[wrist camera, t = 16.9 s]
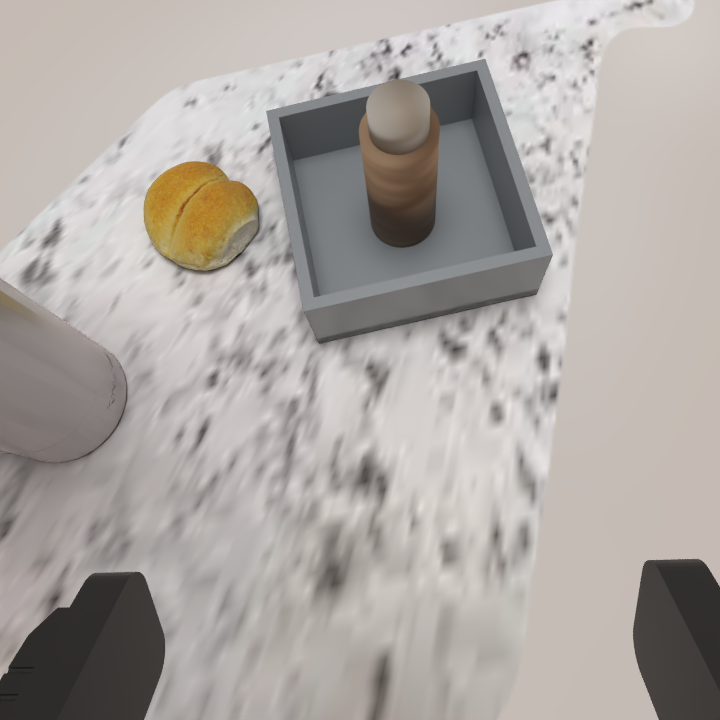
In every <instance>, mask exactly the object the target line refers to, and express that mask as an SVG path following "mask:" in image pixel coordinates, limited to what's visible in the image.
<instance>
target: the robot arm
mask: <svg viewBox="0 0 720 720" xmlns="http://www.w3.org/2000/svg"><path fill="white" fill-rule="evenodd" d="M126 387H127V386H126V381H125V375H124V372H123V370H122V368H121V366H120V363H119V362H118V361H117V360H116V358H115V357H114V356H113V355H112V354H111V353H110V352H109V351H107V350H106V349H105V348H103V347H102V346H100V345H99V344H97V343H96V342H94V341H93V340H91V339H90V338H89V337H87V336H86V335H84V334H83V333H81V332H80V331H78V330H77V329H75V328H74V327H73V326H71V325H70V324H68V323H67V322H65V321H64V320H62V319H61V318H59V317H58V316H56V315H55V314H53V313H52V312H50V311H49V310H47V309H46V308H44V307H43V306H41V305H40V304H38V303H37V302H35V301H34V300H32V299H31V298H29V297H28V296H26V295H25V294H23V293H22V292H20V291H19V290H17V289H16V288H14V287H13V286H11V285H10V284H8V283H7V282H5V281H4V280H2V279H1V278H0V452H4V453H8V454H11V453H13V454H17V455H21V456H25V457H29V458H33V459H37V460H41V461H45V462H66V461H70V460H75V459H77V458H79V457H82V456H84V455H86V454H88V453H90V452H91V451H93V450H94V449H96V448H97V447H98V446H100V445H101V444H102V443H103V442H104V441H105V440H106V439H107V438H108V437H109V436H110V434H111V433H112V431H113V430H114V428H115V427H116V426H117V424H118V422H119V420H120V417H121V415H122V413H123V410H124V406H125V402H126ZM633 640H634V648H635V654H636V659H637V663H638V666H639V670H640V672H641V675H642V678H643V680H644V683H645V685H646V688H647V690H648V693H649V695H650V698H651V700H652V703H653V706H654V708H655V711H656V713H657V716H658V718H659V720H720V587H719V585H718V583H717V582H716V580H715V578H714V577H713V575H712V573H711V572H710V570H709V568H708V567H707V566H706V564H705V563H704V562H703V561H701V560H699V559H682V560H681V559H678V560H648V561H646V562H645V563H644V566H643V570H642V576H641V582H640V589H639V595H638V602H637V608H636V614H635V620H634V628H633ZM164 658H165V638H164V633H163V630H162V627H161V624H160V621H159V618H158V615H157V612H156V609H155V606H154V603H153V600H152V597H151V594H150V591H149V588H148V585H147V582H146V579H145V577H144V576H143V574H142V573H140V572H116V573H94V574H92V575H90V576H89V577H88V578H87V579H86V581H85V582H84V584H83V586H82V587H81V589H80V591H79V592H78V594H77V596H76V598H75V599H74V601H73V603H72V604H71V606H70V607H68V608H57V609H56V610H55V611H54V612H53V613H52V614H51V615H49V616H48V617H47V618H46V619H45V620H44V621H43V622H42V623H41V624H40V625H39V626H38V627H37V628H36V629H35V630H33V631H32V632H31V633H30V634H29V635H28V637H27V638H26V640H25V641H24V643H23V645H22V646H21V648H20V649H19V651H18V653H17V654H16V656H15V657H14V659H13V661H12V662H11V664H10V665H9V670H8V673H7V674H4V675H3V676H2V678H1V680H0V720H144V718H145V716H146V713H147V710H148V708H149V705H150V702H151V700H152V697H153V694H154V692H155V689H156V686H157V684H158V681H159V678H160V676H161V673H162V669H163V664H164Z"/></svg>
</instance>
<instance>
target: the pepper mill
mask: <svg viewBox="0 0 720 720" xmlns="http://www.w3.org/2000/svg"><path fill="white" fill-rule="evenodd" d="M366 111H367V112H366V113H365V114H364V116H363V118H362V120H361V122H360V126H359V138H360V146H361V153H362V160H363V168H364V175H365V182H366V190H367V197H368V204H369V212H370V219H371V226H372V229H373V231H374V233H375V235H376V236H377V237H378V238H379V239H380V240H381V241H382V242H384V243H386V244H388V245H390V246H393V247H400V248H403V247H411V246H414V245H417V244H419V243H421V242H422V241H423V240H425V239H426V238H427V237H428V236H429V235H430V233H431V232H432V230H433V228H434V224H435V214H436V195H437V176H438V156H439V137H440V124H439V120H438V117H437V115H436V113H435V112H434V111H433V109H432V108H431V107H430V99H429V96H428V94H427V92H426V91H425V90H424V89H423V88H422V87H421V86H420V85H418V84H416V83H414V82H412V81H408V80H392V81H388V82H385V83H383V84H381V85H380V86H378V87H377V88H376V89H374V90H373V92H372V93H371V94H370V96H369V98H368V100H367V104H366Z"/></svg>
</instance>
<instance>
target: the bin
mask: <svg viewBox="0 0 720 720" xmlns="http://www.w3.org/2000/svg"><path fill="white" fill-rule="evenodd" d="M399 80H408V81H412V82H414V83H416V84H418V85H420V86H421V87H422V88H423V89H424V90H425V91H426V92H427V94H428V96H429V99H430V107H431V108H432V109H433V111H434V112H435V113H436V115H437V117H438V120H439V124H440V137H439V156H438V176H437V195H436V214H435V224H434V228H433V230H432V232H431V233H430V235H429V236H428V237H427V238H426V239H425V240H423V241H422V242H421V243H419V244H417V245H414V246H411V247H403V248H400V247H393V246H390V245H388V244H386V243H384V242H382V241H381V240H380V239H379V238H378V237H377V236H376V235H375V233H374V231H373V229H372V226H371V219H370V212H369V204H368V197H367V190H366V182H365V175H364V168H363V160H362V153H361V146H360V138H359V126H360V122H361V120H362V118H363V116H364V114H365V113H366V112H367V111H366V104H367V100H368V98H369V96H370V94H371V93H372V92H373V90H374V89H376V88H377V87H378V86H380V85H381V84H378V85H374V86H369V87H365V88H361V89H357V90H353V91H348V92H344V93H340V94H336V95H332V96H327V97H323V98H319V99H315V100H311V101H307V102H302V103H298V104H294V105H290V106H286V107H281V108H277V109H273V110H269V111H266V112H267V117H268V123H269V128H270V133H271V139H272V144H273V149H274V155H275V160H276V166H277V171H278V176H279V182H280V187H281V192H282V198H283V203H284V208H285V214H286V219H287V224H288V230H289V235H290V241H291V246H292V251H293V257H294V262H295V267H296V273H297V278H298V283H299V289H300V294H301V299H302V305H303V310H304V313H305V315H306V317H307V319H308V321H309V323H310V325H311V328H312V330H313V332H314V334H315V336H316V338H317V340H318V342H319V343H323V342H328V341H332V340H337V339H341V338H346V337H350V336H354V335H359V334H363V333H368V332H372V331H376V330H381V329H385V328H390V327H394V326H399V325H403V324H407V323H412V322H416V321H421V320H425V319H430V318H434V317H438V316H443V315H447V314H452V313H456V312H460V311H465V310H469V309H474V308H478V307H483V306H487V305H491V304H496V303H500V302H505V301H509V300H514V299H518V298H522V297H527V296H531V295H536V294H537V292H538V289H539V287H540V284H541V282H542V280H543V277H544V275H545V272H546V270H547V267H548V265H549V263H550V260H551V258H552V255H553V254H552V251H551V248H550V245H549V242H548V239H547V236H546V233H545V231H544V228H543V225H542V222H541V219H540V216H539V213H538V210H537V207H536V204H535V202H534V199H533V196H532V193H531V190H530V187H529V184H528V181H527V178H526V176H525V173H524V170H523V167H522V164H521V161H520V158H519V155H518V152H517V150H516V147H515V144H514V141H513V138H512V135H511V132H510V129H509V126H508V123H507V121H506V118H505V115H504V112H503V109H502V106H501V103H500V100H499V97H498V95H497V92H496V89H495V86H494V83H493V80H492V77H491V74H490V71H489V68H488V66H487V63H486V60H485V59H482V60H478V61H474V62H470V63H466V64H461V65H457V66H453V67H449V68H445V69H441V70H436V71H432V72H428V73H424V74H420V75H415V76H411V77H407V78H403V79H399ZM382 84H383V83H382Z"/></svg>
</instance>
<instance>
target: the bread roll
mask: <svg viewBox="0 0 720 720" xmlns="http://www.w3.org/2000/svg"><path fill="white" fill-rule="evenodd" d="M144 223H145V226H146V230H147V232H148V235H149V238H150V240H151V242H152V244H153V245H154V247H155V248H156V249H157V250H158V251H159V253H161V254H162V255H163V256H165V257H167V258H169V259H171V260H172V261H173V262H175V263H176V264H178V265H180V266H182V267H185V268H188V269H193V270H204V271H205V270H211V269H216V268H219V267H222V266H224V265H227V264H228V263H229V262H230V261H231V260H232V259H234V258H235V257H236V256H237V255H238V254H239V253H241V252H242V251H243V250H244V249H245V247H246V246H247V245H248V243H249V242H250V241H251V239H252V238H253V237H254V235H255V233H256V232H257V230H258V226H259V221H258V203H257V199H256V198H255V196H254V195H253V193H252V192H251V190H250V189H249V188H248V187H247V186H246V185H244V184H243V183H240V182H237V181H229V180H228V178H227V176H226V175H225V173H224V172H223V171H222V170H221V169H220V168H218V167H216V166H215V165H213V164H210V163H206V162H195V161H194V162H185V163H182V164H179V165H177V166H175V167H173V168H171V169H169V170H167V171H166V172H164V173H163V174H162V175H160V176H159V177H158V178H157V179H156V180H155V181H154V182H153V183H152V185H151V186H150V188H149V189H148V192H147V194H146V197H145V201H144Z"/></svg>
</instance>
